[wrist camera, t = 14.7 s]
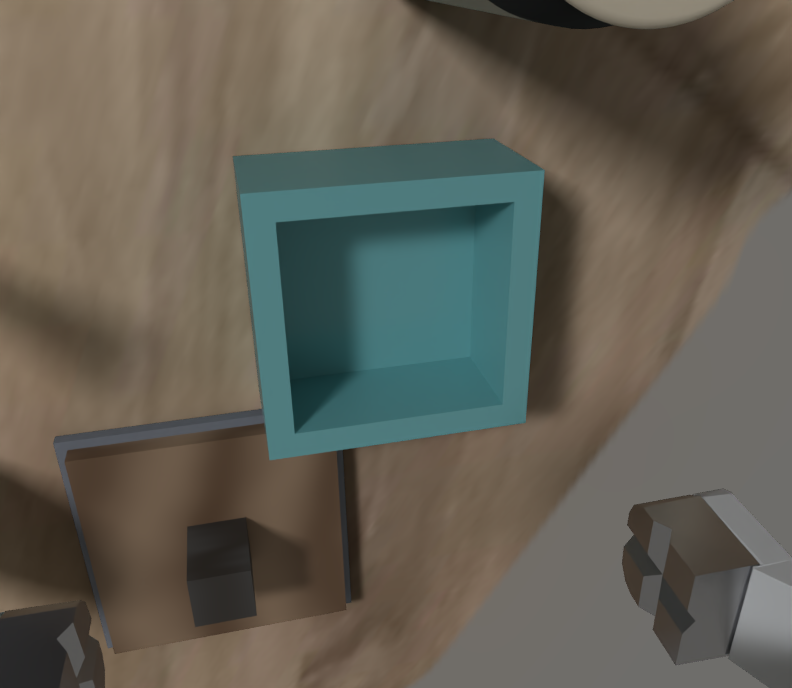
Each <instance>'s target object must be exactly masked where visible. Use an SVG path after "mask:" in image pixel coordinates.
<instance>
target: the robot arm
mask: <svg viewBox="0 0 792 688" xmlns="http://www.w3.org/2000/svg"><path fill="white" fill-rule="evenodd" d="M627 525H628V526H629V528H630V529H631V531H632V532H633V533H634V535H633V536H632V538H631V539H630V540H629V541H628V542H627V543H626V545H625V546H624V551H623V559H622V565H623V571H624V576H625V581H626V584H627V586H628V589H629V591H630V593H631V595H632V597H633V599H634V600H635V602H636V603H637V605H638V606H639V607H640V608H642V609H643V610H645V611H647V612H649V613H650V614H652V615H654V616H655V619H654V626H653V631H654V632H655V634H656V635H657V637H658V638H659V640H660V642H661V643H662V645H663V646H664V648H665V649H666V651H667V653H668V654H669V656H670V657H671V659H672V661H673V662H674V664H675V665H680V664H686V663H691V662H697V661H703V660H708V659H714V658H719V657H724V656H729V657H728V659H729V660H731V661H732V662H733V663H735V664H736V665H738V666H739V667H741V668H742V669H743V670H745V671H746V672H748V673H749V674H750V675H752V676H753V677H755V678H756V679H758V680H759V681H760V682H762V683H763V684H765V685H766V686H767V687H769V688H792V557H791V556H790V555H789V554H788V552H787V551H786V550H785V549H784V548H783V547H782V546H781V545H780V544H779V543H778V542H777V541H776V540H775V539H774V537H773V536H772V535H771V534H770V533H769V532H768V531H767V530H766V529H765V528H764V527H763V526H762V524H761V523H760V522H759V521H758V520H757V519H756V518H755V517H754V516H753V515H752V514H751V513H750V512H749V511H748V509H747V508H746V507H745V506H744V505H743V504H742V503H741V502H740V501H739V500H738V499H737V498H736V497H735V496H734V494H733V493H731V492H730V491H728V490H726V489H718V490H713V491H707V492H702V493H697V494H693V495H687V496H681V497H675V498H669V499H664V500H658V501H653V502H648V503H642V504H637V505H634V506H633V508H632V509H631V511H630V513H629V518H628V524H627ZM90 624H91V616H90V613H89V610H88V608H87V605H86V602H85V601H82V600H77V601H70V602H63V603H56V604H50V605H43V606H36V607H29V608H22V609H16V610H9V611H5V612H1V613H0V688H105V668H104V661H103V655H102V651H101V648H100V644H99V641H98V640H96V639H94V638H93V637H91V636H89V630H90Z"/></svg>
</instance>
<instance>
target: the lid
mask: <svg viewBox="0 0 792 688" xmlns="http://www.w3.org/2000/svg"><path fill="white" fill-rule="evenodd" d="M64 463H65V466H66V470H67V474H68V478H69V482H70V485H71V489H72V493H73V497H74V501H75V504H76V508H77V512H78V516H79V520H80V523H81V527H82V531H83V535H84V539H85V542H86V546H87V550H88V554H89V558H90V561H91V565H92V569H93V573H94V577H95V580H96V584H97V588H98V592H99V596H100V599H101V603H102V607H103V611H104V615H105V618H106V622H107V626H108V630H109V634H110V637H111V641H112V645H113V649H114V653H115V654H117V653H122V652H127V651H133V650H138V649H143V648H148V647H154V646H159V645H164V644H169V643H175V642H180V641H185V640H191V639H196V638H201V637H206V636H212V635H217V634H222V633H227V632H233V631H238V630H243V629H249V628H254V627H259V626H264V625H270V624H275V623H280V622H285V621H291V620H296V619H301V618H307V617H312V616H317V615H322V614H328V613H333V612H338V611H343V610H346V597H345V580H344V564H343V548H342V531H341V515H340V499H339V482H338V466H337V451H330V452H324V453H317V454H310V455H303V456H296V457H290V458H283V459H276V460H269V453H268V447H267V440H266V433H265V426H264V423H262V424H255V425H247V426H240V427H233V428H225V429H218V430H211V431H204V432H196V433H189V434H182V435H175V436H167V437H160V438H153V439H145V440H138V441H131V442H124V443H116V444H109V445H102V446H94V447H87V448H80V449H73V450H67V454H66V458H65V462H64Z"/></svg>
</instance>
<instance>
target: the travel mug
mask: <svg viewBox="0 0 792 688" xmlns="http://www.w3.org/2000/svg"><path fill="white" fill-rule="evenodd" d="M428 1H433V2H438V3H443V4H448V5H453V6H458V7H463V8H468V9H473V10H478V11H483V12H488V13H493V14H498V15H503V16H508V17H513V18H518V19H523V20H528V21H533V22H538V23H543V24H548V25H553V26H558V27H565V28H571V29H592V28H602V27H607V26H612V25H616V26H620V27H625V28H634V29H659V28H666V27H673V26H677V25H681V24H685V23H688V22H691V21H694V20H697V19H699V18H702V17H704V16H707V15H709V14H711V13H713V12H715V11H717V10H719V9H720V8H722V7H724V6H725V5H727V4H729V3H730V2H732V1H734V0H428Z"/></svg>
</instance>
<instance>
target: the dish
mask: <svg viewBox="0 0 792 688" xmlns="http://www.w3.org/2000/svg"><path fill="white" fill-rule="evenodd" d="M233 162H234V171H235V180H236V189H237V198H238V207H239V215H240V224H241V233H242V242H243V251H244V260H245V269H246V277H247V286H248V295H249V304H250V313H251V322H252V331H253V339H254V348H255V357H256V366H257V375H258V384H259V392H260V399H261V406H262V413H263V419H264V426H265V433H266V440H267V447H268V453H269V460H276V459H283V458H290V457H296V456H303V455H310V454H317V453H324V452H330V451H337V450H344V449H351V448H357V447H364V446H371V445H378V444H385V443H391V442H398V441H405V440H412V439H419V438H425V437H432V436H439V435H446V434H453V433H459V432H466V431H473V430H480V429H486V428H493V427H500V426H507V425H514V424H520V423H525V422H526V409H527V396H528V383H529V369H530V356H531V343H532V330H533V317H534V303H535V290H536V277H537V264H538V251H539V237H540V224H541V211H542V198H543V185H544V171H545V170H544V169H542V168H540V167H539V166H537V165H535V164H534V163H532V162H531V161H529V160H527V159H526V158H524V157H523V156H521V155H519V154H518V153H516V152H514V151H513V150H511V149H510V148H508V147H506V146H505V145H503V144H501V143H500V142H498V141H497V140H495V139H479V140H465V141H450V142H435V143H421V144H406V145H392V146H377V147H362V148H348V149H333V150H318V151H304V152H289V153H274V154H260V155H245V156H233Z"/></svg>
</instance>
